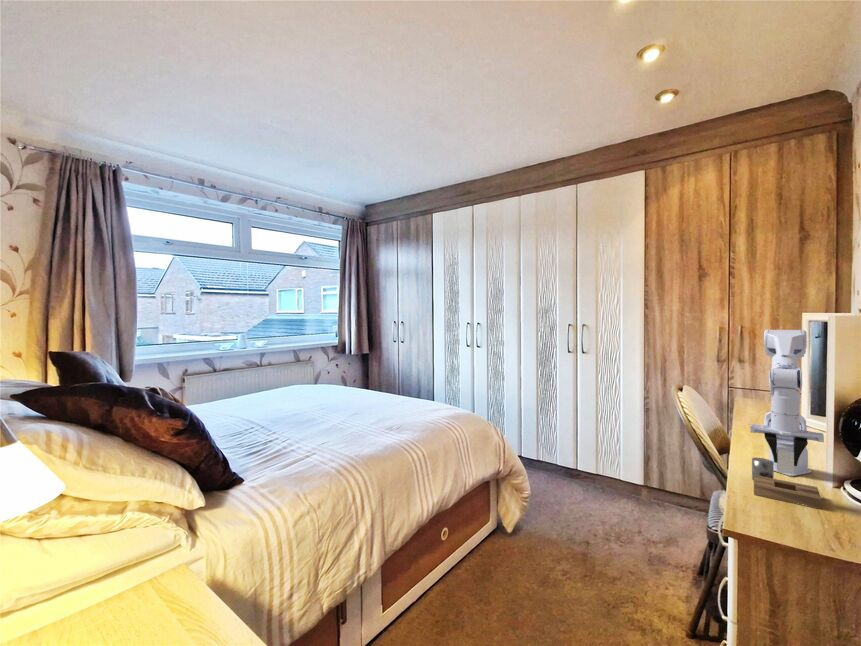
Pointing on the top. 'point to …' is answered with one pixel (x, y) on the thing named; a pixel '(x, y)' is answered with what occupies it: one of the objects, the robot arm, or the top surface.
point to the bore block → (787, 491)
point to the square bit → (785, 460)
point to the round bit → (762, 468)
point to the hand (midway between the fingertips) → (785, 463)
